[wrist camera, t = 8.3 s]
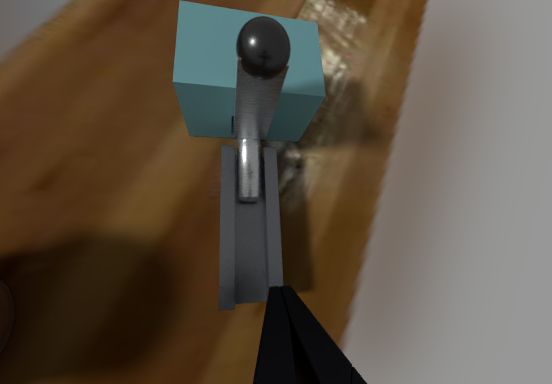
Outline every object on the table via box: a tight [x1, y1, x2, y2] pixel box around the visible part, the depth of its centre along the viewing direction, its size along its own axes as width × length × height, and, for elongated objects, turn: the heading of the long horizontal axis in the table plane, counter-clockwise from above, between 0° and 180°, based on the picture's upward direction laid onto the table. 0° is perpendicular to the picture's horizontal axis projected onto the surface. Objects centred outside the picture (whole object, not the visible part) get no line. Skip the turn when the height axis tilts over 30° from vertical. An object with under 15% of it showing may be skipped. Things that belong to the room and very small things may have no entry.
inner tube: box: [234, 16, 291, 202], centre depth 18 cm, size 12×3×13 cm, turn 3°
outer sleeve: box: [219, 145, 283, 311], centre depth 22 cm, size 14×5×3 cm, turn 3°
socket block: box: [173, 1, 326, 142], centre depth 23 cm, size 8×12×8 cm, turn 93°
